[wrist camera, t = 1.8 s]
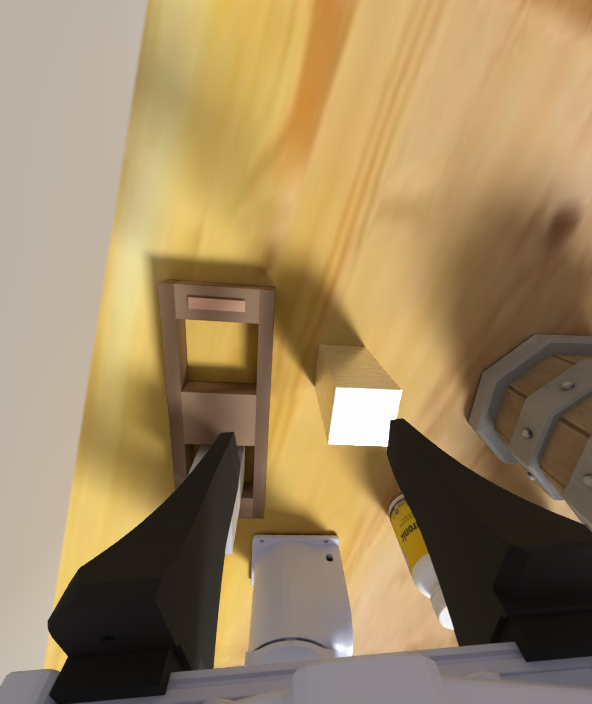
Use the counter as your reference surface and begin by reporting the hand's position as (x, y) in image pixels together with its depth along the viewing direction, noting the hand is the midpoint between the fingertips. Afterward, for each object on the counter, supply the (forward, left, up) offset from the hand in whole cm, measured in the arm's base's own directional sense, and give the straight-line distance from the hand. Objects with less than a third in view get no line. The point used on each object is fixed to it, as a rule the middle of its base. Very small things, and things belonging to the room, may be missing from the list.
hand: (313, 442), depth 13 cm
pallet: (+6, +6, -12) cm, 15 cm away
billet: (-4, +1, -12) cm, 13 cm away
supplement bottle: (-14, +17, -12) cm, 25 cm away
